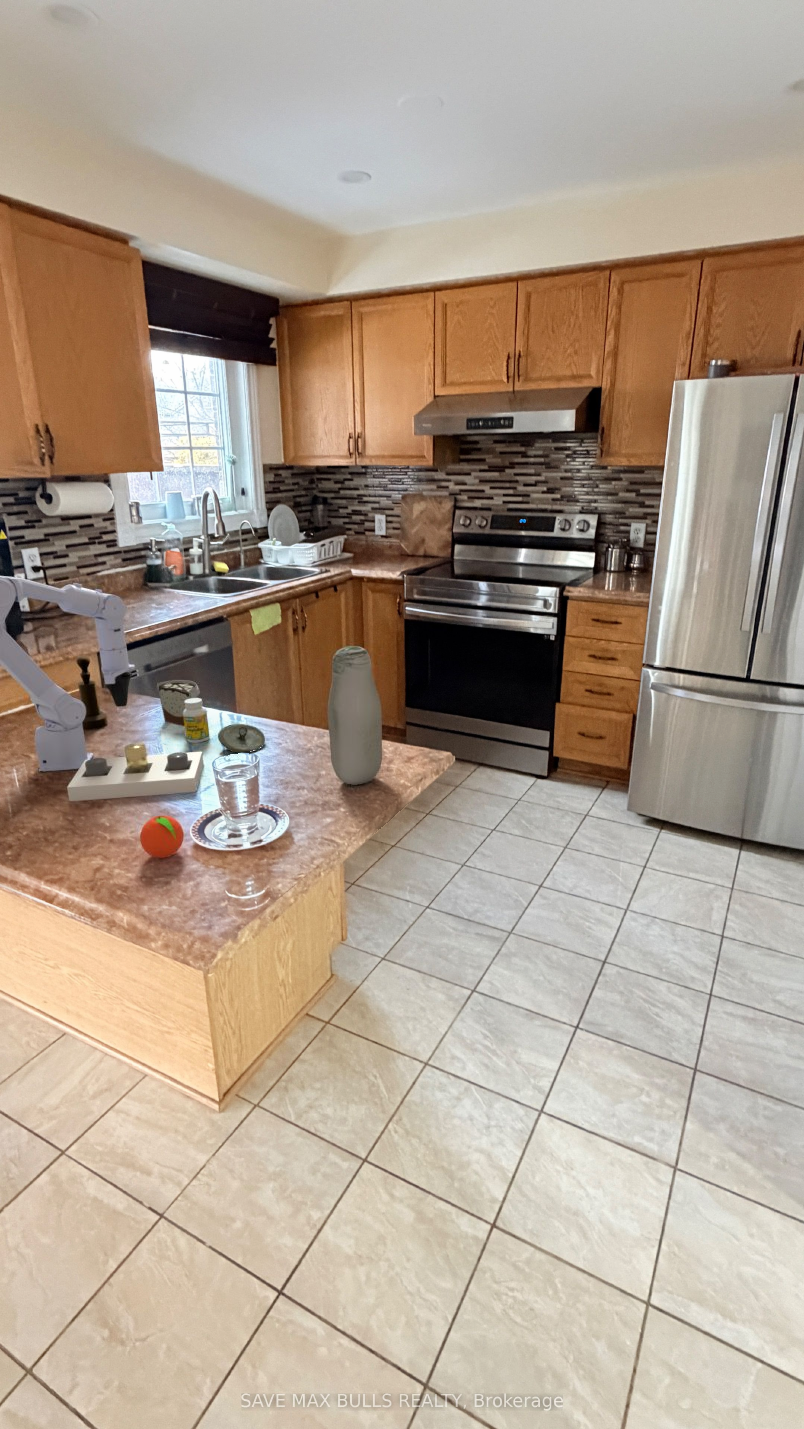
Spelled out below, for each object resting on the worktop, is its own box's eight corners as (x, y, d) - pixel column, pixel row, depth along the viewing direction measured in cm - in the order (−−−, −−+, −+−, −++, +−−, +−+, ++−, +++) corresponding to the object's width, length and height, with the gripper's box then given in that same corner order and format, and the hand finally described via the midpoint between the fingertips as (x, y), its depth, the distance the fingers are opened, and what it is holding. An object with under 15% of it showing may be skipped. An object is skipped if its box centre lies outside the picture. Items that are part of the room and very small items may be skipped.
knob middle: (126, 774, 151) (122, 751, 149) (130, 766, 155) (126, 743, 153) (146, 772, 151) (143, 749, 150) (150, 764, 155) (146, 742, 154)
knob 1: (86, 789, 151) (82, 766, 149) (91, 781, 155) (87, 758, 153) (107, 787, 151) (103, 764, 150) (111, 779, 155) (108, 757, 153)
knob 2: (168, 783, 153) (165, 760, 151) (171, 775, 157) (168, 753, 155) (188, 781, 153) (186, 759, 152) (191, 773, 157) (188, 751, 155)
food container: (213, 722, 188) (209, 683, 185) (195, 729, 183) (190, 690, 180) (179, 714, 194) (174, 676, 191) (160, 721, 189) (155, 683, 186)
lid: (248, 735, 179) (246, 715, 177) (274, 745, 172) (273, 724, 171) (210, 747, 171) (208, 727, 170) (236, 758, 165) (234, 737, 163)
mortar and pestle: (81, 722, 189) (69, 653, 184) (108, 719, 191) (97, 650, 185) (78, 731, 183) (66, 659, 178) (107, 728, 185) (95, 657, 179)
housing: (69, 801, 146) (67, 787, 145) (87, 772, 159) (85, 759, 158) (196, 791, 149) (194, 777, 148) (203, 764, 162) (202, 751, 161)
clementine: (197, 855, 125) (193, 817, 123) (160, 872, 120) (154, 833, 118) (171, 840, 130) (166, 803, 128) (134, 856, 125) (128, 818, 123)
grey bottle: (350, 768, 159) (344, 638, 149) (391, 777, 154) (388, 644, 144) (322, 785, 151) (314, 649, 141) (365, 796, 146) (359, 655, 136)
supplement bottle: (210, 734, 180) (206, 696, 176) (208, 742, 174) (204, 703, 171) (187, 735, 179) (183, 697, 176) (184, 744, 174) (179, 704, 171)
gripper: (124, 654, 161) (133, 714, 165) (137, 639, 174) (145, 694, 179) (90, 656, 160) (100, 716, 164) (106, 640, 173) (114, 696, 178)
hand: (121, 705), depth 172 cm, fingers closed
